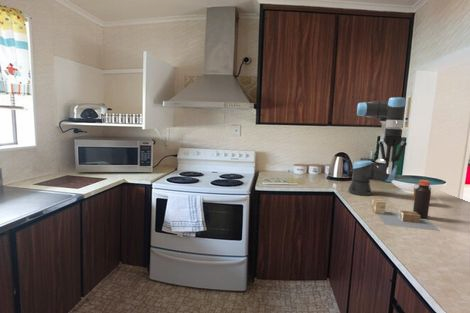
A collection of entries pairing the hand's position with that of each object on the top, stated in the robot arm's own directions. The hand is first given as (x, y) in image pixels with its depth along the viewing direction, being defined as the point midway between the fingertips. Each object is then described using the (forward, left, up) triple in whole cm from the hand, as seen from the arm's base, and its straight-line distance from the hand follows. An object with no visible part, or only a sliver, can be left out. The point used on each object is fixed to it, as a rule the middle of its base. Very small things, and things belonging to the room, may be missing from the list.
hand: (388, 173), depth 143 cm
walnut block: (0, +8, -22) cm, 23 cm away
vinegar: (-8, +20, -24) cm, 32 cm away
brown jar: (-36, +30, -25) cm, 53 cm away
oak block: (-8, -1, -24) cm, 25 cm away
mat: (0, +10, -24) cm, 26 cm away
